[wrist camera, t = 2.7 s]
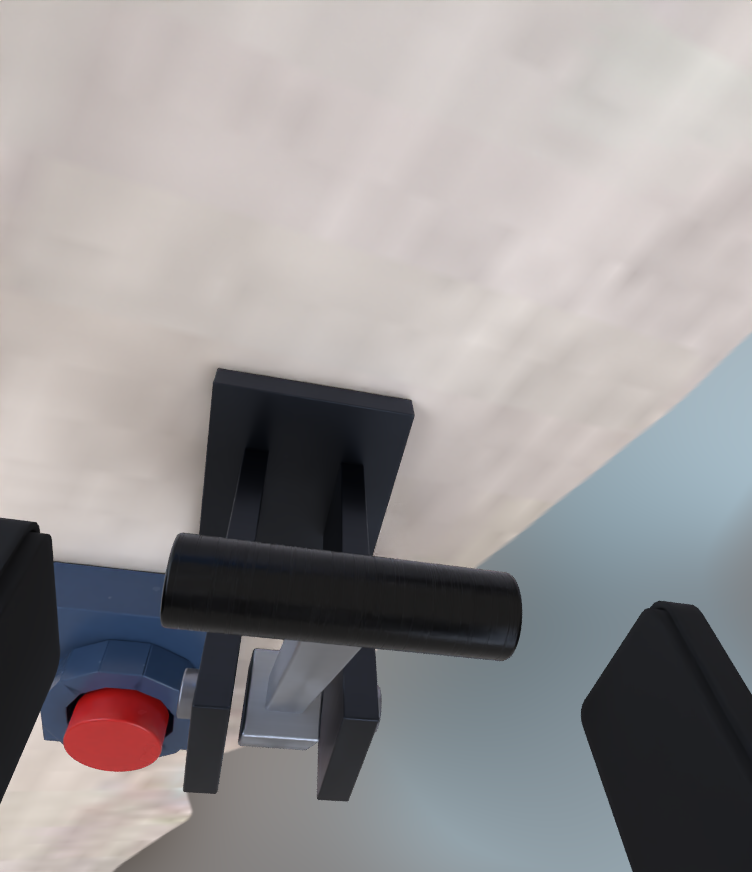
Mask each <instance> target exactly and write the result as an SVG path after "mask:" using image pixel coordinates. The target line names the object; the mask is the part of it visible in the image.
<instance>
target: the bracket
mask: <svg viewBox="0 0 752 872" xmlns="http://www.w3.org/2000/svg"><path fill="white" fill-rule="evenodd" d="M414 416H415V415H414V410H413V405H412V401H411V400H407V399H401V398H395V397H389V396H383V395H377V394H371V393H365V392H359V391H353V390H347V389H341V388H335V387H329V386H322V385H316V384H310V383H304V382H298V381H292V380H286V379H280V378H274V377H268V376H262V375H256V374H250V373H244V372H238V371H232V370H226V369H220V368H218V369H217V372H216V375H215V378H214V381H213V389H212V400H211V411H210V422H209V433H208V444H207V455H206V466H205V477H204V488H203V499H202V510H201V521H200V532H199V535H206V536H214V537H222V538H230V539H239V540H247V541H255V542H263V543H271V544H279V545H287V546H295V547H304V548H312V549H320V550H328V551H336V552H344V553H352V554H361V555H369V556H373V552H374V549H375V546H376V542H377V539H378V536H379V532H380V529H381V526H382V522H383V519H384V516H385V512H386V509H387V506H388V502H389V499H390V496H391V492H392V489H393V486H394V483H395V479H396V476H397V473H398V469H399V466H400V463H401V459H402V456H403V453H404V449H405V446H406V443H407V439H408V436H409V433H410V429H411V426H412V423H413V419H414ZM240 643H241V635H231V634H221V633H210V632H207V633H206V638H205V643H204V648H203V653H202V657H201V662H200V667H199V669H194V668H186V669H185V671H184V675H183V679H182V683H181V688H180V694H179V699H178V706H177V718H181V719H190V726H189V736H188V746H187V756H186V765H185V775H184V785H183V791H184V792H193V793H210V794H216V793H217V790H218V784H219V778H220V772H221V766H222V759H223V753H224V747H225V741H226V734H227V728H228V722H229V716H230V709H231V703H232V696H233V689H234V683H235V676H236V669H237V663H238V656H239V649H240ZM380 716H381V691H380V687H379V686H378V685H377V672H376V656H375V649H373V648H363V647H362V648H361V649H360V650H359V651H358V652H357V653H356V654H355V656H354V657H353V658H352V659H351V660H350V661H349V662H348V663H347V664H346V665H345V667H344V668H343V669H342V670H341V671H340V672H339V673H338V674H337V675H336V677H335V678H334V679H333V680H332V681H331V682H330V683H329V684H328V685H327V686H326V688H325V689H324V694H323V707H322V719H321V731H320V740H319V742H318V772H317V774H318V776H317V799H318V800H331V801H349V798H350V795H351V793H352V790H353V787H354V785H355V782H356V780H357V777H358V774H359V772H360V769H361V767H362V764H363V761H364V759H365V756H366V754H367V751H368V748H369V746H370V743H371V741H372V738H373V735H374V733H375V732H376V731H377V729H378V726H379V722H380Z"/></svg>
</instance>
